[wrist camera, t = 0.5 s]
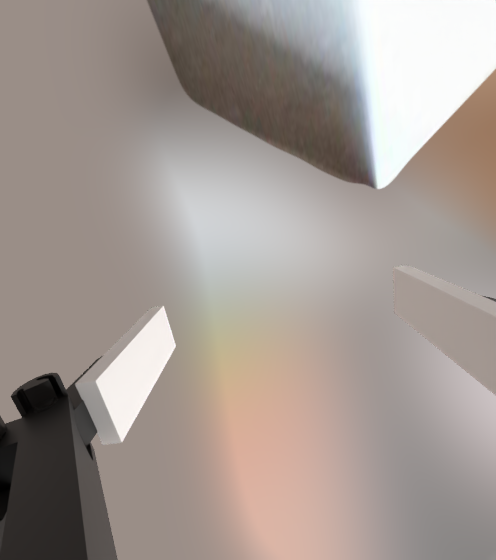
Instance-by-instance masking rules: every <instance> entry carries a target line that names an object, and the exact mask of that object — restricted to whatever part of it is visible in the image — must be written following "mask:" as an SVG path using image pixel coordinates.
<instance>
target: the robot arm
mask: <svg viewBox="0 0 496 560" xmlns="http://www.w3.org/2000/svg"><path fill="white" fill-rule="evenodd" d="M393 283H394V313H395V314H396V315H397V316H399V317H400V318H401V319H402V320H404V321H405V322H406V323H407V324H409V325H410V326H411V327H412V328H414V329H415V330H416V331H417V332H418V333H420V334H421V335H422V336H423V337H425V338H426V339H427V340H428V341H430V342H431V343H432V344H433V345H434V346H436V347H437V348H438V349H439V350H441V351H442V352H443V353H444V354H445V355H447V356H448V357H449V358H450V359H452V360H453V361H454V362H455V363H457V364H458V365H459V366H460V367H461V368H463V369H464V370H465V371H467V372H468V373H469V374H470V375H471V376H473V377H474V378H475V379H476V380H477V381H479V382H480V383H481V384H482V385H484V386H485V387H486V388H488V389H489V390H490V391H491V392H492V393H493V394H495V395H496V299H494V298H490V297H485V296H481V295H478V294H476V293H474V292H471V291H469V290H467V289H464V288H462V287H459V286H457V285H455V284H452V283H450V282H448V281H445V280H442V279H440V278H438V277H436V276H433V275H431V274H428V273H426V272H424V271H421V270H419V269H417V268H414V267H412V266H409V265H404V266H397V267H393ZM175 347H176V345H175V342H174V338H173V335H172V332H171V328H170V325H169V322H168V319H167V316H166V312H165V309H164V306H158V307H152V308H150V309H149V310H148V311H147V312H146V313H145V314H144V315H143V316H142V317H141V318H140V319H139V320H138V321H137V322H136V323H135V324H134V325H133V327H131V328H130V329H129V330H128V331H127V332H126V333H125V334H124V335H123V336H122V338H120V339H119V340H118V341H117V342H116V343H115V344H114V346H112V347H111V349H109V351H107V352H106V353H105V354H104V355H103V356H102V357H100V358H99V359H97V360H96V361H95V362H94V363H93V364H92V365H91V366H90V367H89V369H87V370H86V371H85V372H84V373H83V375H81V376H80V377H79V378H78V379H77V380H76V381H75V382H74V383H73V384H72V385H71V386H70V387H69V388H68V389H67V390H66V389H65V387H64V385H63V383H62V381H61V379H60V377H59V375H58V374H57V373H49V374H45V375H42V376H39V377H36V378H34V379H32V380H30V381H28V382H27V383H25V384H24V385H22V386H20V387H19V388H18V389H17V390H16V391H14V392H13V394H12V395H11V398H12V400H13V402H14V403H15V405H16V407H17V409H18V411H19V412H20V414H21V416H22V418H21V419H18V420H15V421H12V422H9V423H6V424H5V423H4V421H3V420H2V418H1V417H0V560H117V555H116V550H115V546H114V541H113V536H112V532H111V527H110V522H109V518H108V513H107V508H106V504H105V500H104V494H103V490H102V485H101V480H100V476H99V471H98V466H97V462H96V457H95V452H94V449H93V446H92V444H91V440H92V439H93V437H94V436H95V435H96V433H97V434H98V436H99V438H100V440H101V442H102V445H105V444H114V443H122V441H123V440H124V438H125V436H126V434H127V432H128V430H129V429H130V427H131V425H132V423H133V422H134V420H135V418H136V416H137V415H138V413H139V411H140V409H141V407H142V406H143V404H144V402H145V400H146V398H147V397H148V395H149V393H150V391H151V390H152V388H153V386H154V384H155V382H156V381H157V379H158V377H159V375H160V374H161V372H162V370H163V368H164V366H165V365H166V363H167V361H168V359H169V358H170V356H171V354H172V352H173V350H174V348H175Z"/></svg>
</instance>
